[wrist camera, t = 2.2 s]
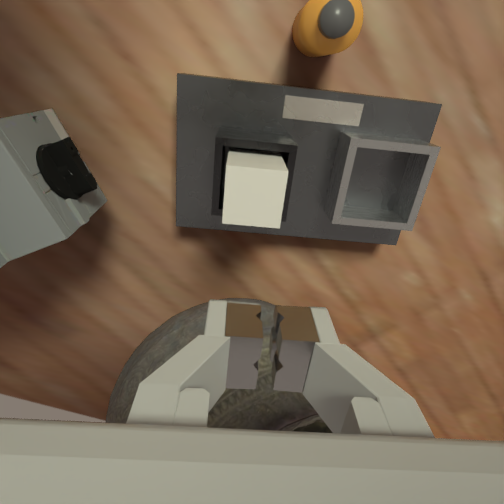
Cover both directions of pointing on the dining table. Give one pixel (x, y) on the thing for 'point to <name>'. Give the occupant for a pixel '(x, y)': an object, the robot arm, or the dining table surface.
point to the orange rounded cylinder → (327, 26)
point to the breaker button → (254, 188)
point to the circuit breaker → (41, 185)
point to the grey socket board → (306, 156)
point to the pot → (232, 400)
